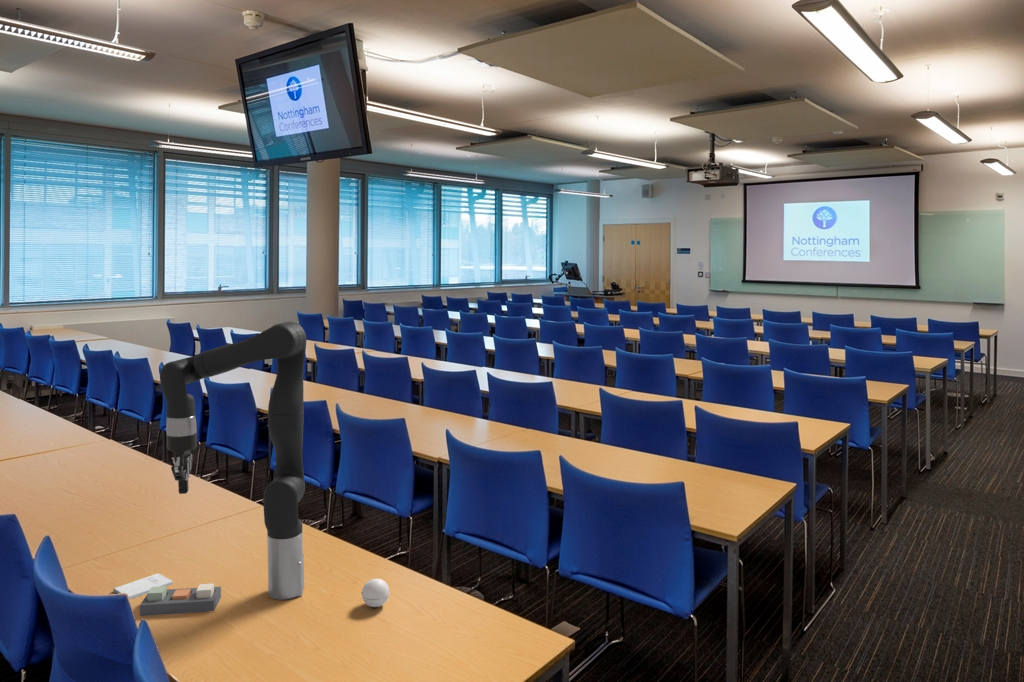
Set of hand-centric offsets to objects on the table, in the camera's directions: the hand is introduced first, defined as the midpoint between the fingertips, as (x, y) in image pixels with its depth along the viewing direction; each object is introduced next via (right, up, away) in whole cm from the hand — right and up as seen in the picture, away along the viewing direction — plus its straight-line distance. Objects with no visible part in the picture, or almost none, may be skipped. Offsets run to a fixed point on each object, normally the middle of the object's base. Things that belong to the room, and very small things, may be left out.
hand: (183, 492), depth 196 cm
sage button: (-2, -27, -10) cm, 29 cm away
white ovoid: (+54, -30, -7) cm, 61 cm away
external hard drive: (-12, -28, +1) cm, 30 cm away
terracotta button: (+4, -28, -9) cm, 29 cm away
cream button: (+10, -27, -8) cm, 29 cm away
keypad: (+4, -28, -9) cm, 30 cm away
